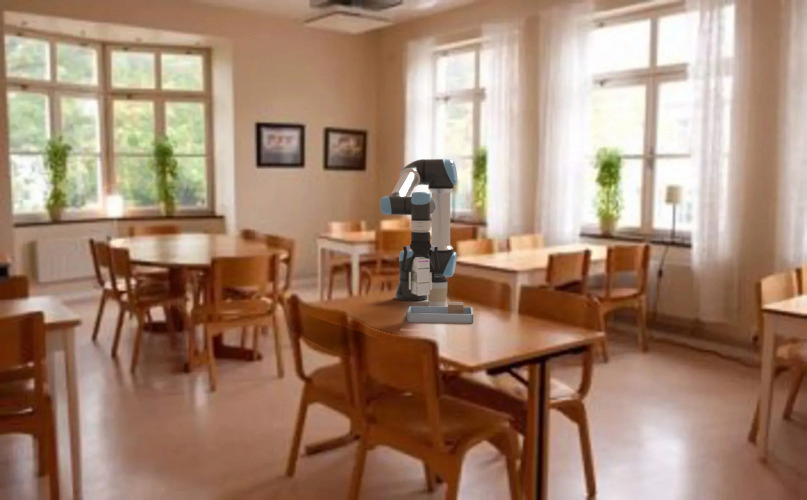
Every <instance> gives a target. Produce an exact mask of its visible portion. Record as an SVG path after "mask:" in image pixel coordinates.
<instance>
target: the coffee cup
mask: <svg viewBox="0 0 807 500" xmlns="http://www.w3.org/2000/svg"><path fill="white" fill-rule="evenodd" d="M448 282H449V280H448V277H445V276H442V275H435V280H434V281H432V290H430V295H428V298H427V300H428V306H442V307H446V303H447V295H448Z"/></svg>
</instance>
